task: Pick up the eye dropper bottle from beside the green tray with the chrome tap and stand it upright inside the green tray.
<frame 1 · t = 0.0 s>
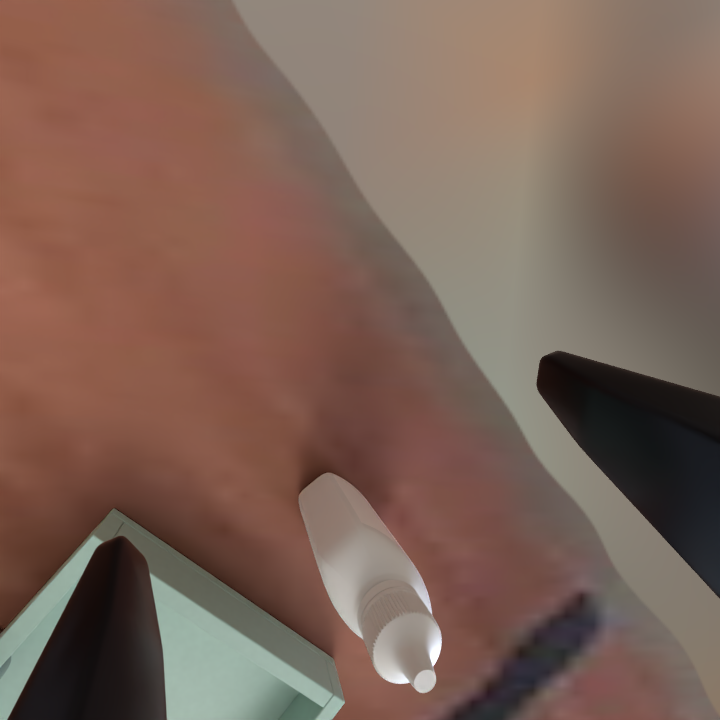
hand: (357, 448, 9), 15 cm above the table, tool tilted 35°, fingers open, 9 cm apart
eye dropper bottle: (339, 515, 25), on the table
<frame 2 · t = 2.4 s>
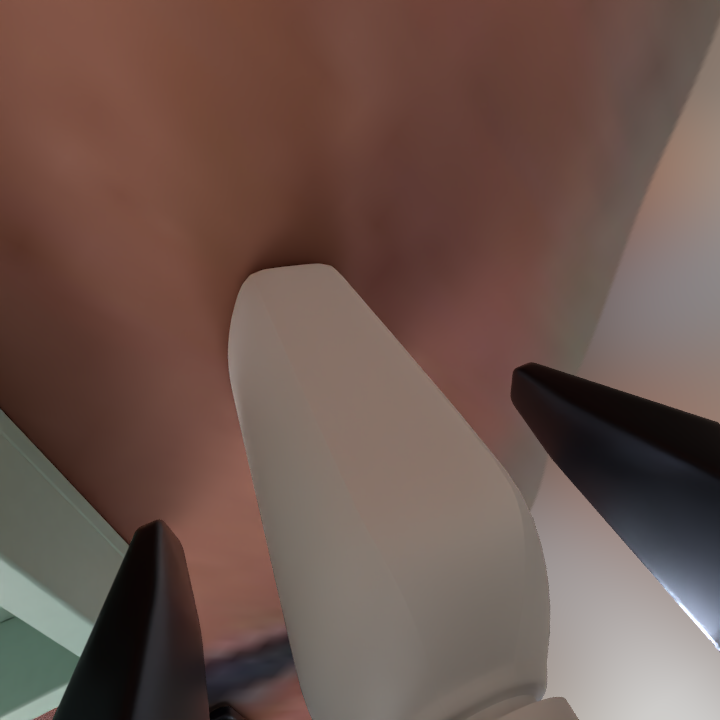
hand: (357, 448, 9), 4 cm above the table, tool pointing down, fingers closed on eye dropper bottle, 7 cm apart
eye dropper bottle: (292, 355, 12), on the table, touching gripper
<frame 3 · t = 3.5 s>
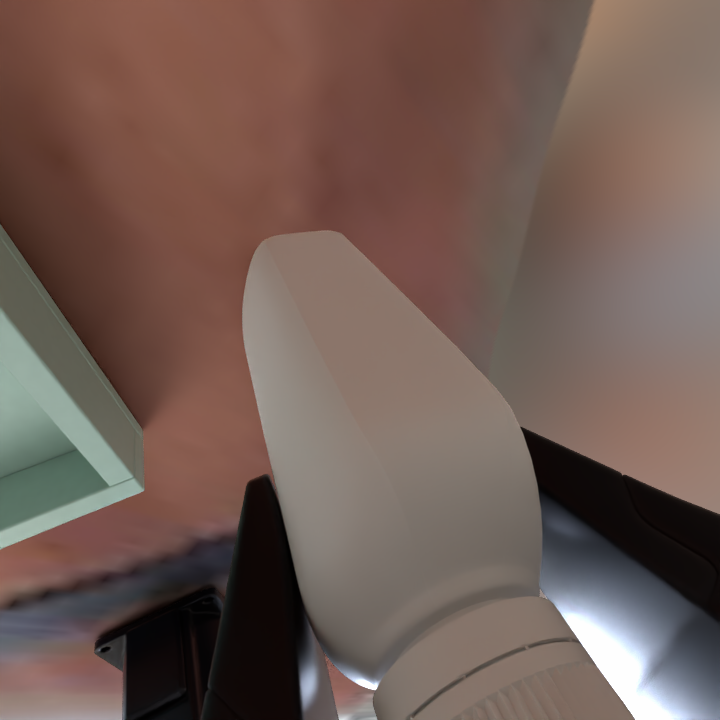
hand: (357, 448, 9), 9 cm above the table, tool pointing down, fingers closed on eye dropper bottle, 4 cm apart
eye dropper bottle: (304, 325, 12), point 4 cm above the table, touching gripper
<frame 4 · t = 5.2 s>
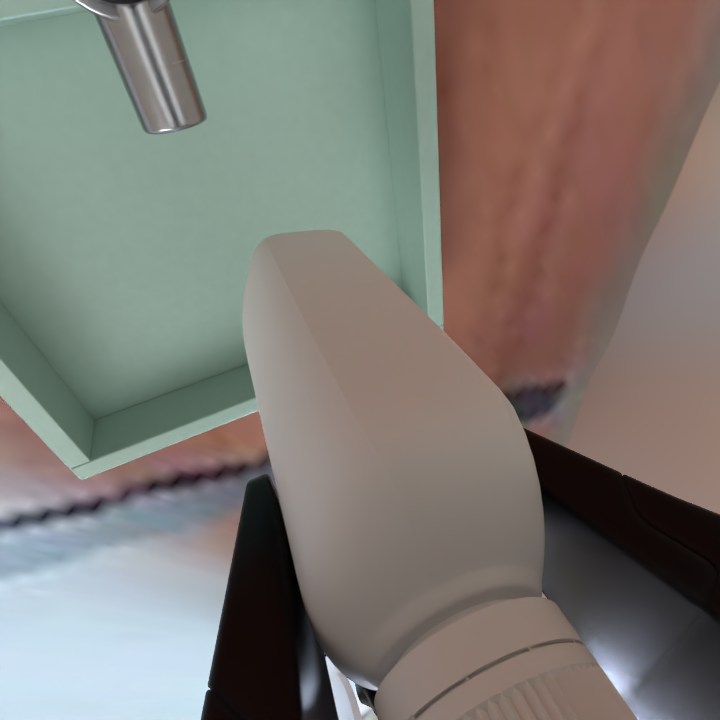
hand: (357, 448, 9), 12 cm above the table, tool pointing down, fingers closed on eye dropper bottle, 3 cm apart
green tray: (208, 220, 17), on the table
eye dropper bottle: (304, 324, 12), point 7 cm above the table, touching gripper
toy character: (312, 653, 43), on the table
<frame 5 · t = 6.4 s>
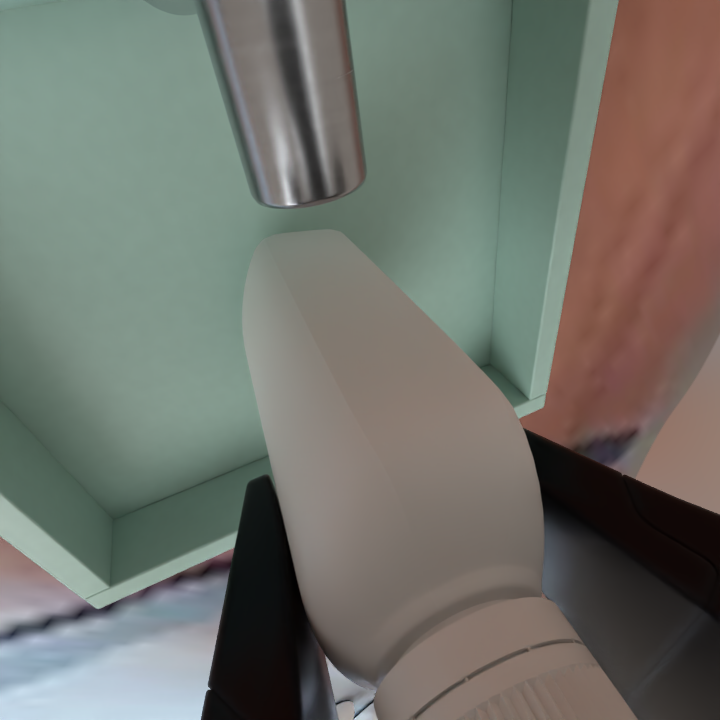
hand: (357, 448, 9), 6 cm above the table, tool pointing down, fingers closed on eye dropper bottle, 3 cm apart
green tray: (268, 274, 13), on the table
eye dropper bottle: (304, 324, 12), point 2 cm above the table, touching gripper
toy character: (339, 717, 39), on the table
when the fingers open (5 cm above the table, at t = 6.9 s): eye dropper bottle stays where it is, resting on green tray.
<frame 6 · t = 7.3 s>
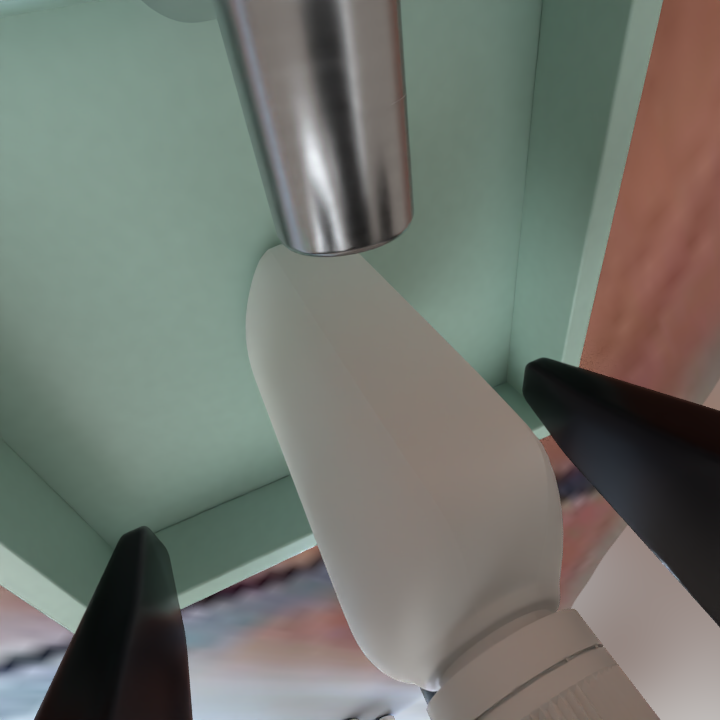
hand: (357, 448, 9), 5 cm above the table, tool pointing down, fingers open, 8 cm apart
green tray: (279, 294, 12), on the table
eye dropper bottle: (304, 326, 12), point 1 cm above the table, touching green tray
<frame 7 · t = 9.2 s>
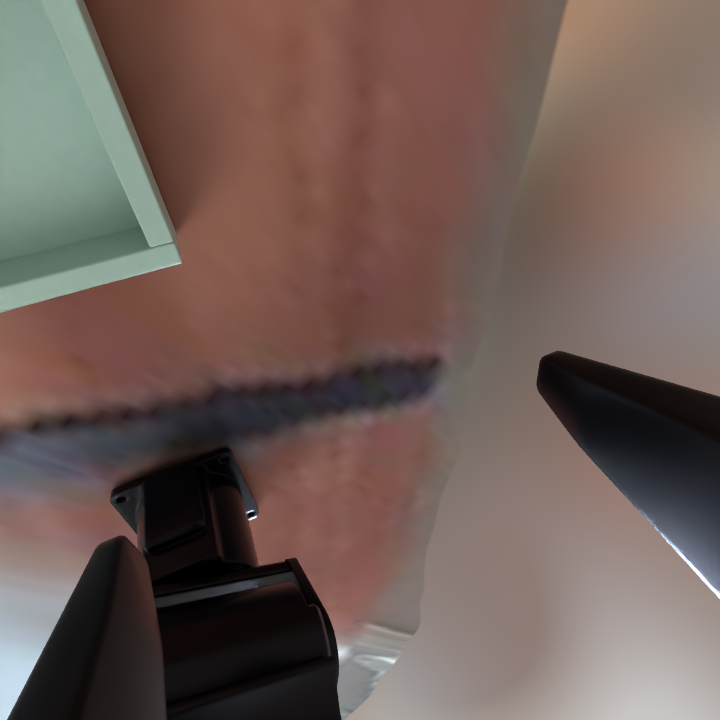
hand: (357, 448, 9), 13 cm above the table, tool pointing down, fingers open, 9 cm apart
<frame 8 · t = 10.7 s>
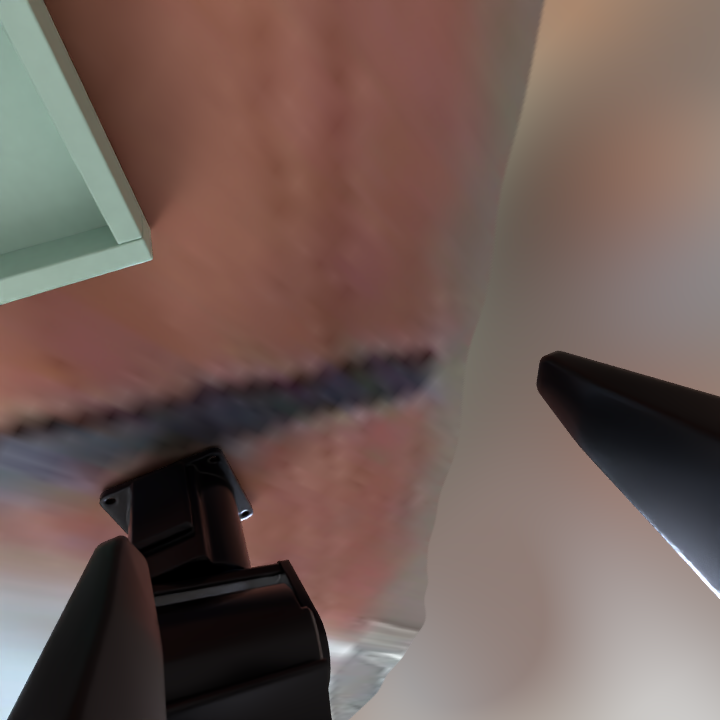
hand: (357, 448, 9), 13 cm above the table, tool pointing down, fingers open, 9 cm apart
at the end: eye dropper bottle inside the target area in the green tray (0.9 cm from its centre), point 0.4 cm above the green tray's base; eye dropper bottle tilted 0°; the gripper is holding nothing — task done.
